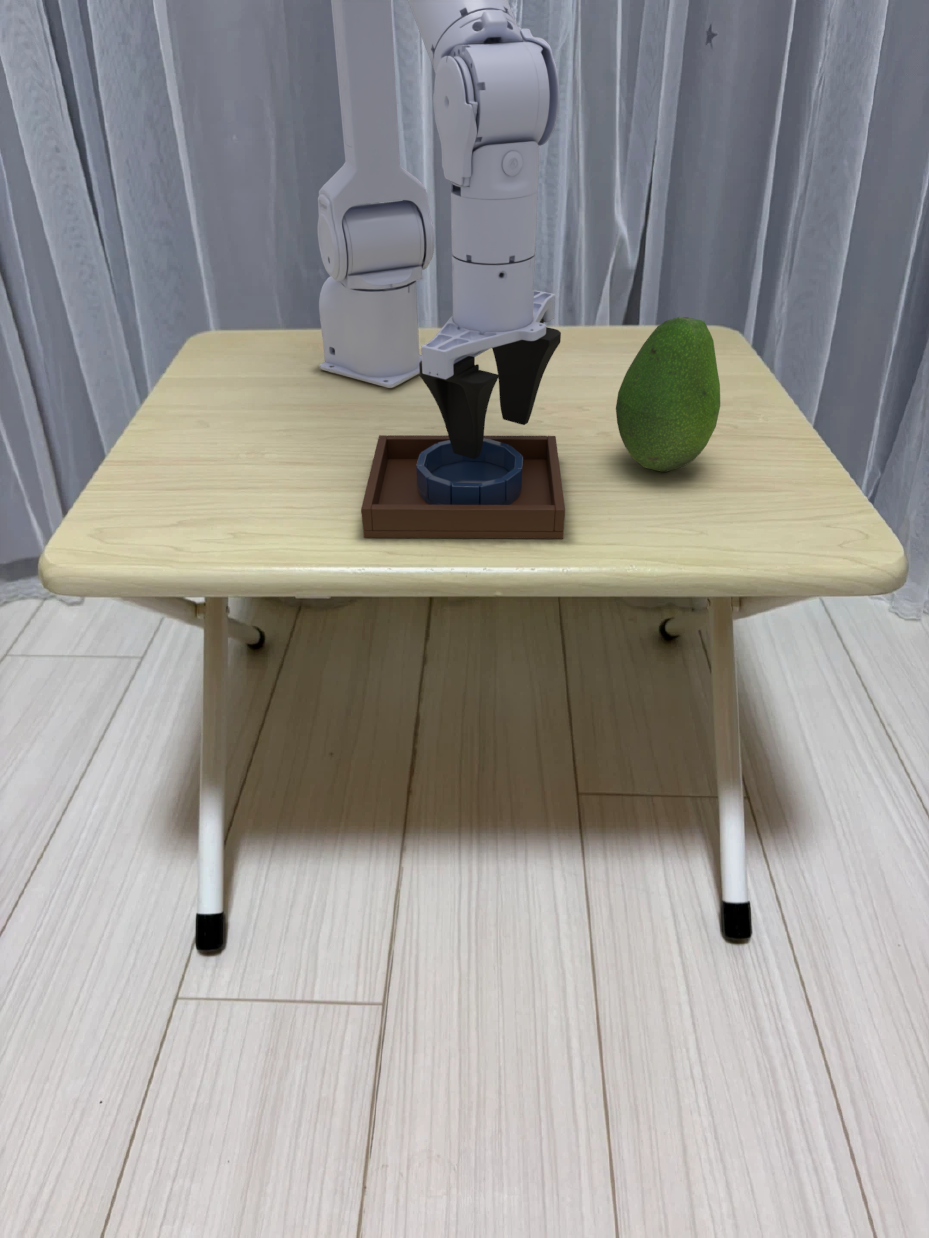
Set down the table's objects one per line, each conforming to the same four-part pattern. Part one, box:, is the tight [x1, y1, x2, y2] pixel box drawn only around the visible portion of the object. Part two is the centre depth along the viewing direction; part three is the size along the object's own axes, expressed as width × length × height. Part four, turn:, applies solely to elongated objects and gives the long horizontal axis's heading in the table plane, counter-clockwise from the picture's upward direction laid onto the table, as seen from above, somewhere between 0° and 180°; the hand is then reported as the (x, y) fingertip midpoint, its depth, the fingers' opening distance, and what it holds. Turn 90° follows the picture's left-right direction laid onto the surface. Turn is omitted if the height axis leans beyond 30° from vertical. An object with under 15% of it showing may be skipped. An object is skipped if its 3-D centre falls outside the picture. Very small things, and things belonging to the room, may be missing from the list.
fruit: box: [615, 316, 721, 473], centre depth 67 cm, size 8×8×12 cm
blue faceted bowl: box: [416, 438, 523, 505], centre depth 66 cm, size 8×8×2 cm
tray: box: [360, 434, 566, 540], centre depth 66 cm, size 14×12×2 cm
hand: (491, 437), depth 67 cm, fingers open, 6 cm apart
